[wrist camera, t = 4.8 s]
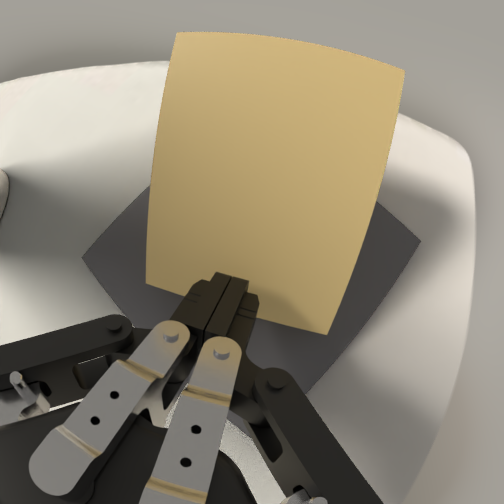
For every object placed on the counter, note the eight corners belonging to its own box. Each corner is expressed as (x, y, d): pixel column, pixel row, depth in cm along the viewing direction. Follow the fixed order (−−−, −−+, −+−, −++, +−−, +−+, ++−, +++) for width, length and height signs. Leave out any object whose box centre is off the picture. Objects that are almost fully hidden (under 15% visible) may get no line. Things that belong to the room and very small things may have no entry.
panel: (326, 335, 14) (404, 70, 9) (145, 283, 15) (177, 32, 10) (325, 304, 17) (387, 82, 11) (169, 261, 18) (200, 48, 12)
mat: (84, 258, 18) (81, 257, 18) (243, 110, 21) (242, 107, 21) (256, 439, 15) (255, 441, 14) (418, 242, 18) (420, 241, 17)
